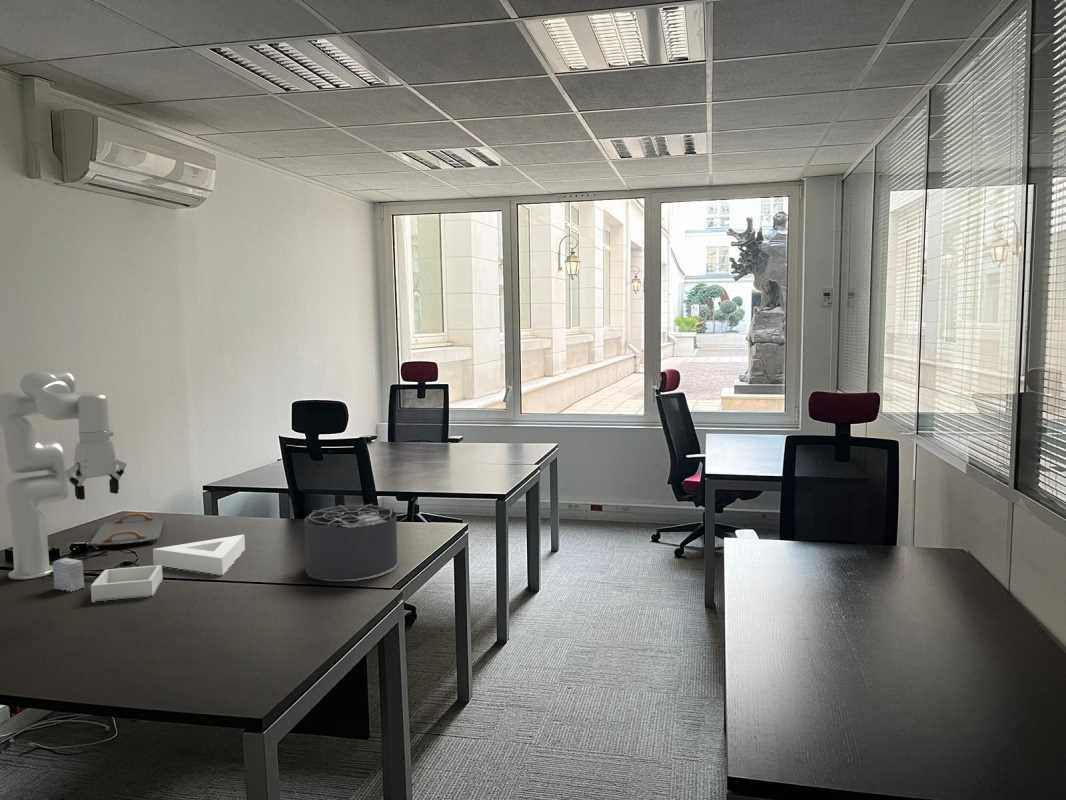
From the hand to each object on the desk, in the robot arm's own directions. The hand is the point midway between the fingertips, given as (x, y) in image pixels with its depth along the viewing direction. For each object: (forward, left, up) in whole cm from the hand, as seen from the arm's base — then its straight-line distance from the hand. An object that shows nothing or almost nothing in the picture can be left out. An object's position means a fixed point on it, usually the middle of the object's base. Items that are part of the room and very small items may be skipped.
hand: (97, 496), depth 220 cm
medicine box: (-14, -13, -31) cm, 36 cm away
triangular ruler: (-33, +27, -31) cm, 53 cm away
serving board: (-77, -9, -31) cm, 83 cm away
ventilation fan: (-10, +71, -31) cm, 79 cm away
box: (-6, +5, -31) cm, 32 cm away
